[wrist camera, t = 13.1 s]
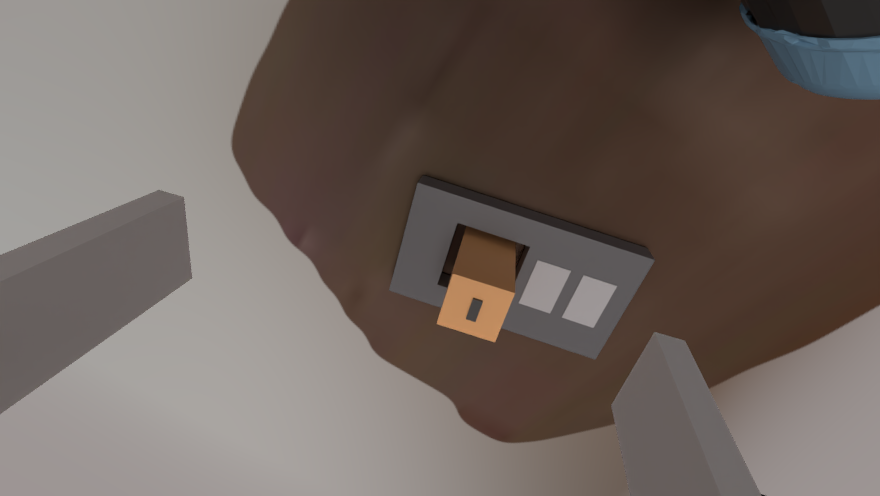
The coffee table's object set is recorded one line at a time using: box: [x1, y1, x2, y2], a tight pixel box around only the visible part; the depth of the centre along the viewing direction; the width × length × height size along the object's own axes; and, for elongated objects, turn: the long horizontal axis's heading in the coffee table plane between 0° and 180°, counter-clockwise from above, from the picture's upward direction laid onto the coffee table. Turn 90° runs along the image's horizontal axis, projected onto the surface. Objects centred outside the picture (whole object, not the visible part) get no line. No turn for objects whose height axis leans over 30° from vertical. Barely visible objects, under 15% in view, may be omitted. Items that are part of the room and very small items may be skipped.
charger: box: [437, 226, 516, 342], centre depth 37 cm, size 5×5×10 cm
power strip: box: [389, 175, 655, 359], centre depth 41 cm, size 12×22×3 cm, turn 74°
